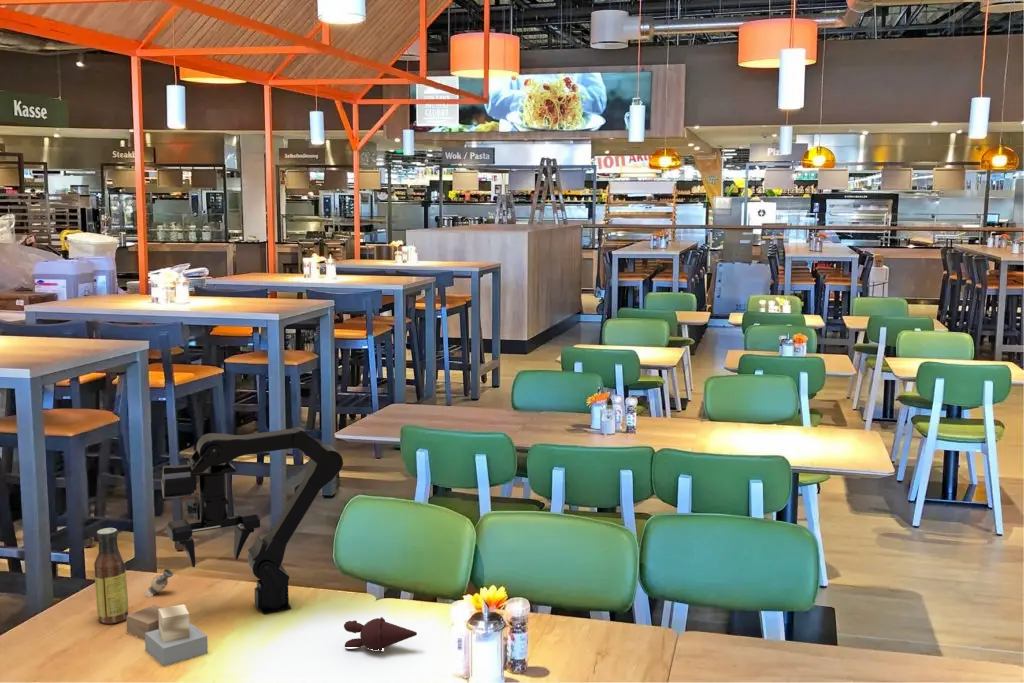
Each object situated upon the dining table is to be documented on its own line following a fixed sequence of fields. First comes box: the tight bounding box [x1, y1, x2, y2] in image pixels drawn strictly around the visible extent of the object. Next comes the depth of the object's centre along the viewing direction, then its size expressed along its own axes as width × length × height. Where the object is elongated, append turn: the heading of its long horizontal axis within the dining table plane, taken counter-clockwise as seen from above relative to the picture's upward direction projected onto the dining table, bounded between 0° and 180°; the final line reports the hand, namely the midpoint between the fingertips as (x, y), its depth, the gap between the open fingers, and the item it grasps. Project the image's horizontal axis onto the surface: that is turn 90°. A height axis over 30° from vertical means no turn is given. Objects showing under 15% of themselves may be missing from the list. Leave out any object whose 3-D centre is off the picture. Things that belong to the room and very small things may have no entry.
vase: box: [144, 568, 174, 597], centre depth 229 cm, size 5×5×6 cm
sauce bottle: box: [93, 527, 129, 625], centre depth 214 cm, size 7×6×20 cm
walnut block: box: [125, 604, 163, 641], centre depth 210 cm, size 7×7×4 cm
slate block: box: [144, 621, 209, 667], centre depth 201 cm, size 9×9×4 cm
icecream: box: [343, 616, 418, 652], centre depth 204 cm, size 7×7×15 cm
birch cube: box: [158, 604, 190, 642], centre depth 200 cm, size 5×5×5 cm
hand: (214, 562), depth 217 cm, fingers open, 9 cm apart
